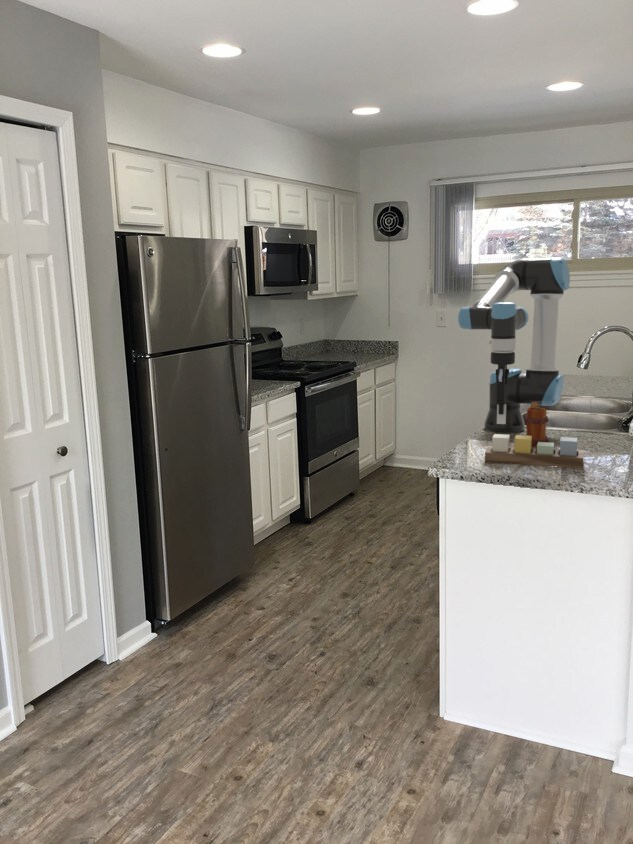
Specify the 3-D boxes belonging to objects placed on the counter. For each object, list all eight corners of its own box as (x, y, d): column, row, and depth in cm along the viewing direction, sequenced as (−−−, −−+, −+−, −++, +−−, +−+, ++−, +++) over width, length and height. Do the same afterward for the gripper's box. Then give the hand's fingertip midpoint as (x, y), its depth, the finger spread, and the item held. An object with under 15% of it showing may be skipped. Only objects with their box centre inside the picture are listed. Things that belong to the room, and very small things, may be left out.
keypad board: (488, 455, 244) (488, 445, 244) (582, 460, 234) (583, 449, 233) (484, 462, 235) (485, 452, 234) (582, 468, 225) (583, 457, 224)
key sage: (537, 456, 236) (538, 441, 235) (553, 457, 235) (554, 442, 233) (536, 460, 232) (537, 445, 231) (552, 461, 230) (553, 446, 229)
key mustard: (515, 449, 238) (516, 435, 237) (531, 450, 237) (531, 435, 235) (514, 453, 234) (514, 438, 233) (530, 454, 232) (530, 439, 231)
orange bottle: (549, 452, 245) (550, 408, 242) (524, 451, 247) (525, 408, 244) (544, 441, 259) (546, 400, 256) (521, 441, 261) (522, 400, 258)
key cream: (494, 448, 241) (494, 434, 240) (509, 449, 239) (509, 434, 238) (492, 452, 236) (492, 437, 235) (507, 453, 234) (508, 438, 233)
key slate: (560, 452, 233) (560, 437, 232) (576, 453, 232) (577, 437, 231) (559, 456, 229) (560, 440, 228) (576, 457, 227) (577, 441, 226)
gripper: (493, 349, 238) (491, 419, 243) (488, 353, 226) (486, 427, 231) (516, 349, 235) (514, 419, 240) (513, 353, 223) (511, 428, 228)
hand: (501, 423), depth 235 cm, fingers closed
